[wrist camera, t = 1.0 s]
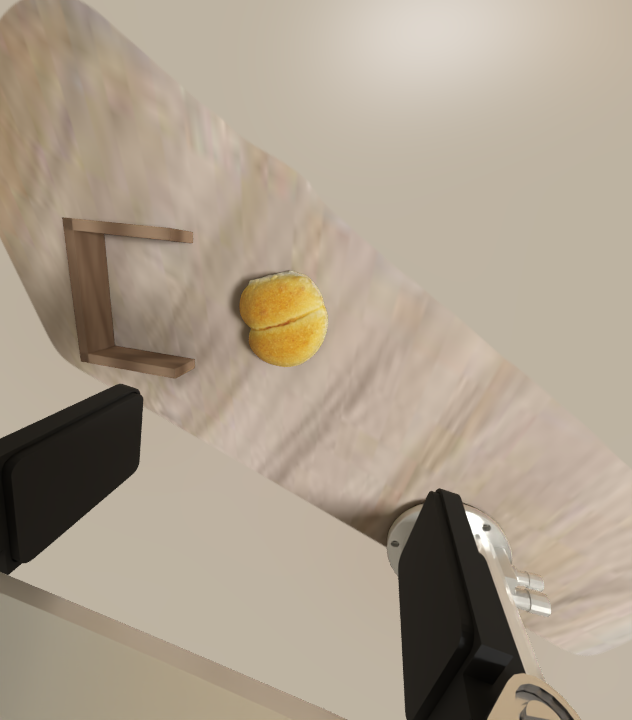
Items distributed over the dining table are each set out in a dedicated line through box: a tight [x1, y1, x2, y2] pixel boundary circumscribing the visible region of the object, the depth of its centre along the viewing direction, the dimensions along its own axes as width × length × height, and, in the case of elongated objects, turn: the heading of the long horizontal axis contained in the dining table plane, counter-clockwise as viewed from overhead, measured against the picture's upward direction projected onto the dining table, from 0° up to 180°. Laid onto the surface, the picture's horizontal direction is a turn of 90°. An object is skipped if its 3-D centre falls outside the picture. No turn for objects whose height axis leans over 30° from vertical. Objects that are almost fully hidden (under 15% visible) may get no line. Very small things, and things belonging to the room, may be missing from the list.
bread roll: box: [239, 271, 328, 367], centre depth 30 cm, size 8×9×4 cm
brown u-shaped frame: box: [62, 218, 195, 378], centre depth 32 cm, size 11×14×4 cm
